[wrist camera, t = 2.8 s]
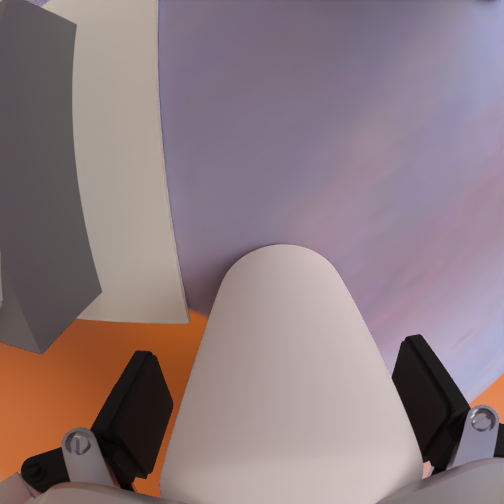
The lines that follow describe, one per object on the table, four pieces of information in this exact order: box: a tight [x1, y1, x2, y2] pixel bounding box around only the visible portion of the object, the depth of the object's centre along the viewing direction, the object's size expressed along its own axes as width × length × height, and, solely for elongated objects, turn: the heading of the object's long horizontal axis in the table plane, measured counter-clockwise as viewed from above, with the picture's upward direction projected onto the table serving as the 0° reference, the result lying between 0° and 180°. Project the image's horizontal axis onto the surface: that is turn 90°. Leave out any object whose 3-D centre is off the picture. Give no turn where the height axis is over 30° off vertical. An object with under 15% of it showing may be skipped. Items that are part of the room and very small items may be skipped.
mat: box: [41, 0, 190, 324], centre depth 12 cm, size 22×16×1 cm
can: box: [159, 244, 423, 504], centre depth 9 cm, size 6×6×12 cm
